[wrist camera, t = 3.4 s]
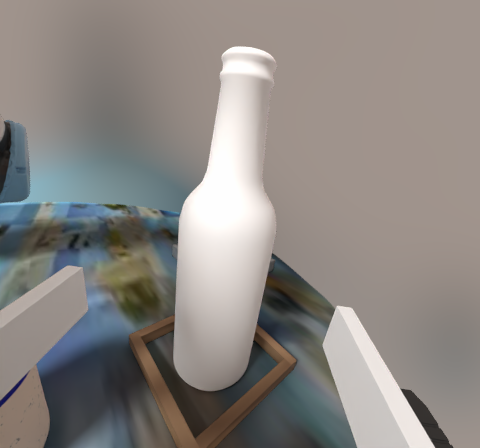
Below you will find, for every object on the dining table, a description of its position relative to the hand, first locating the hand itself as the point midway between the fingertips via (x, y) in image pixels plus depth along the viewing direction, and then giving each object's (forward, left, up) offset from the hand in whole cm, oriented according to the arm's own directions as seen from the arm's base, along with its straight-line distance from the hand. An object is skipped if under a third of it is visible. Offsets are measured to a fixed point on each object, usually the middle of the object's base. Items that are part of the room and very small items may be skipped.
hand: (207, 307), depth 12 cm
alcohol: (-7, +7, -16) cm, 19 cm away
